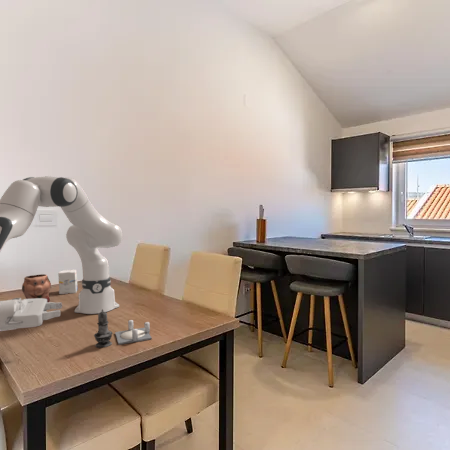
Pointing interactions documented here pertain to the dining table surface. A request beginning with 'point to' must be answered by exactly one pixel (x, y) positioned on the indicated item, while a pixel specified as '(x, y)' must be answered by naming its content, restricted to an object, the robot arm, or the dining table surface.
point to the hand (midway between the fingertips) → (61, 309)
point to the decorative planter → (36, 287)
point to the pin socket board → (121, 341)
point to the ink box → (67, 281)
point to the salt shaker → (103, 331)
